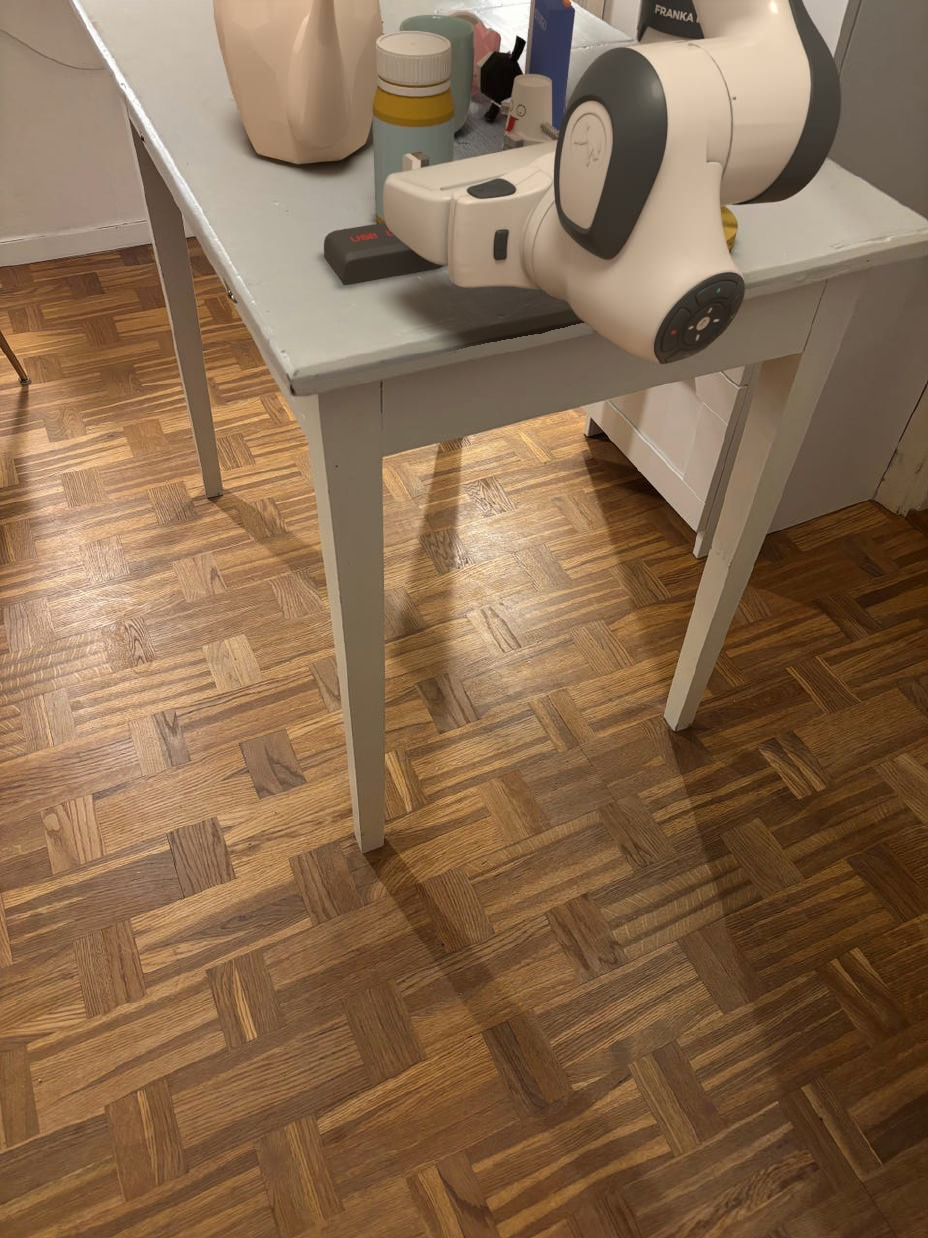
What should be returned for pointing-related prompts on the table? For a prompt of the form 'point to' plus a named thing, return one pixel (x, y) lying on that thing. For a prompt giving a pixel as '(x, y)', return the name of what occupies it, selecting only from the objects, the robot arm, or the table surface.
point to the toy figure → (530, 108)
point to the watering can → (301, 73)
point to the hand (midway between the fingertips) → (461, 152)
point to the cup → (452, 56)
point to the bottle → (411, 104)
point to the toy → (492, 63)
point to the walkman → (551, 48)
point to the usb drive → (371, 254)
